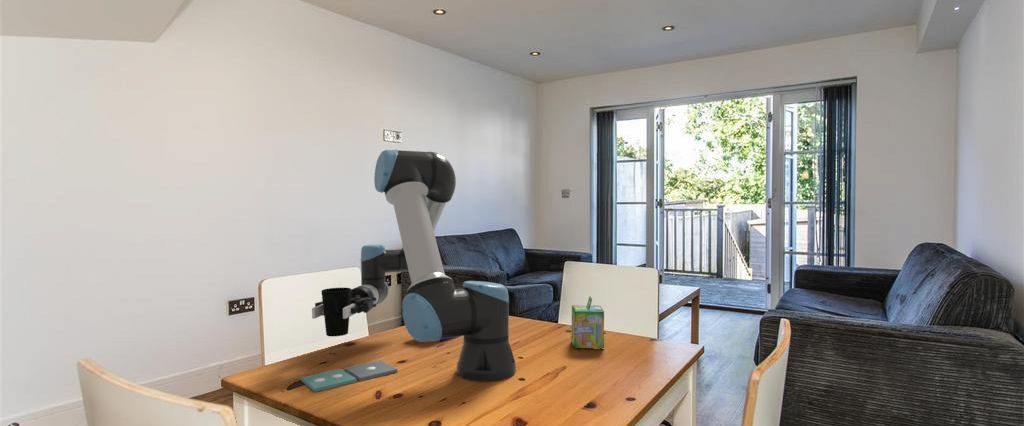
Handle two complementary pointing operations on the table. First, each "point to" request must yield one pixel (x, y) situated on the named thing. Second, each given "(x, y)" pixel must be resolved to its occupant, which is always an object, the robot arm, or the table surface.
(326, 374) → the tile two
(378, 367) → the tile one
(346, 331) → the cup
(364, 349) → the table surface
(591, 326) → the green printed box
